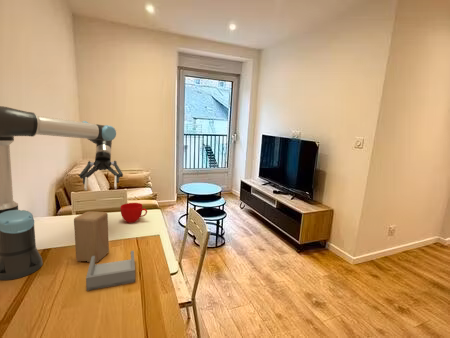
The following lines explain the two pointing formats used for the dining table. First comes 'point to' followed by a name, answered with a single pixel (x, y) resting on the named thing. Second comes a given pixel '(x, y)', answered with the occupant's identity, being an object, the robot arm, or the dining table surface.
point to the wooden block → (91, 236)
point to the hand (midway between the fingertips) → (100, 188)
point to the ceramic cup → (132, 212)
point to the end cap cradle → (110, 273)
